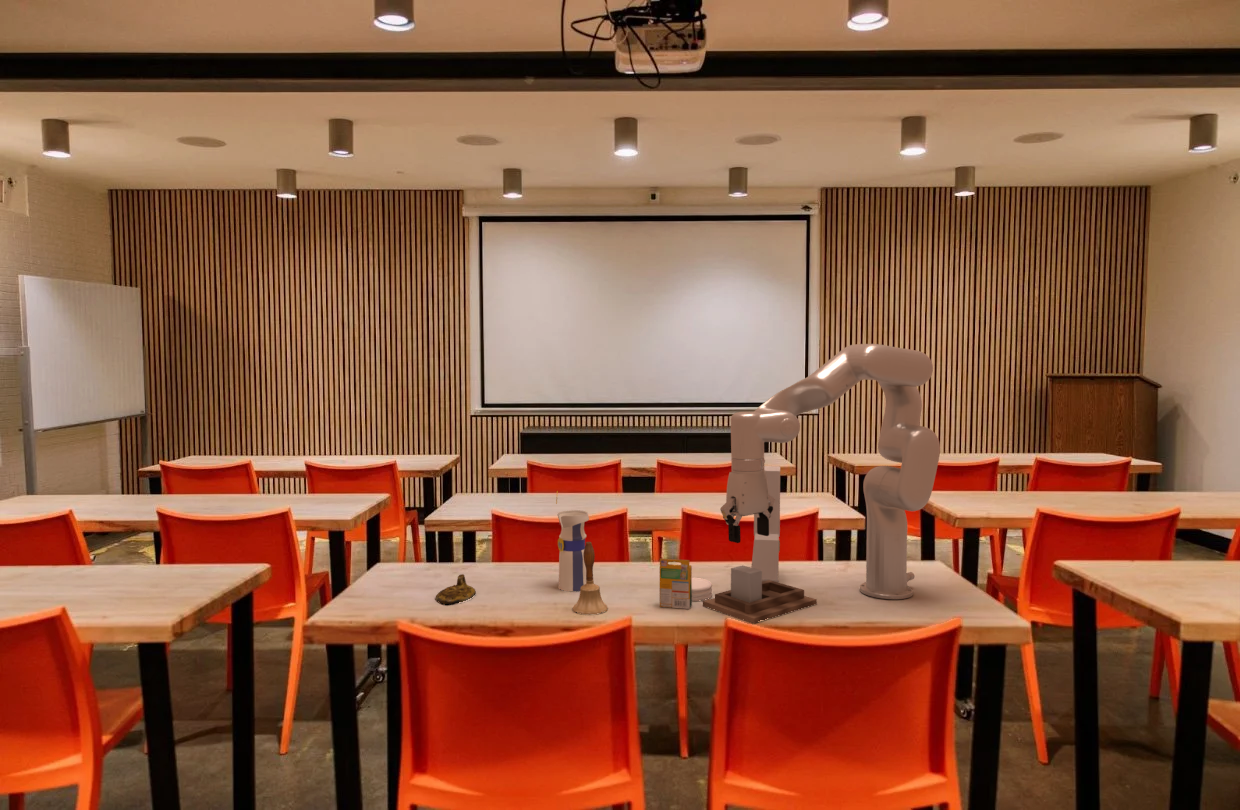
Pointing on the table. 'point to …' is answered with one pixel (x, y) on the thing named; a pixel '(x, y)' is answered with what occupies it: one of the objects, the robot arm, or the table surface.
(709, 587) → the white round stack
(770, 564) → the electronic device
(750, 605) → the tray
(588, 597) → the hand bell
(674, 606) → the crayon box
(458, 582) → the seal
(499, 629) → the table surface
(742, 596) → the grey block
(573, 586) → the water bottle
